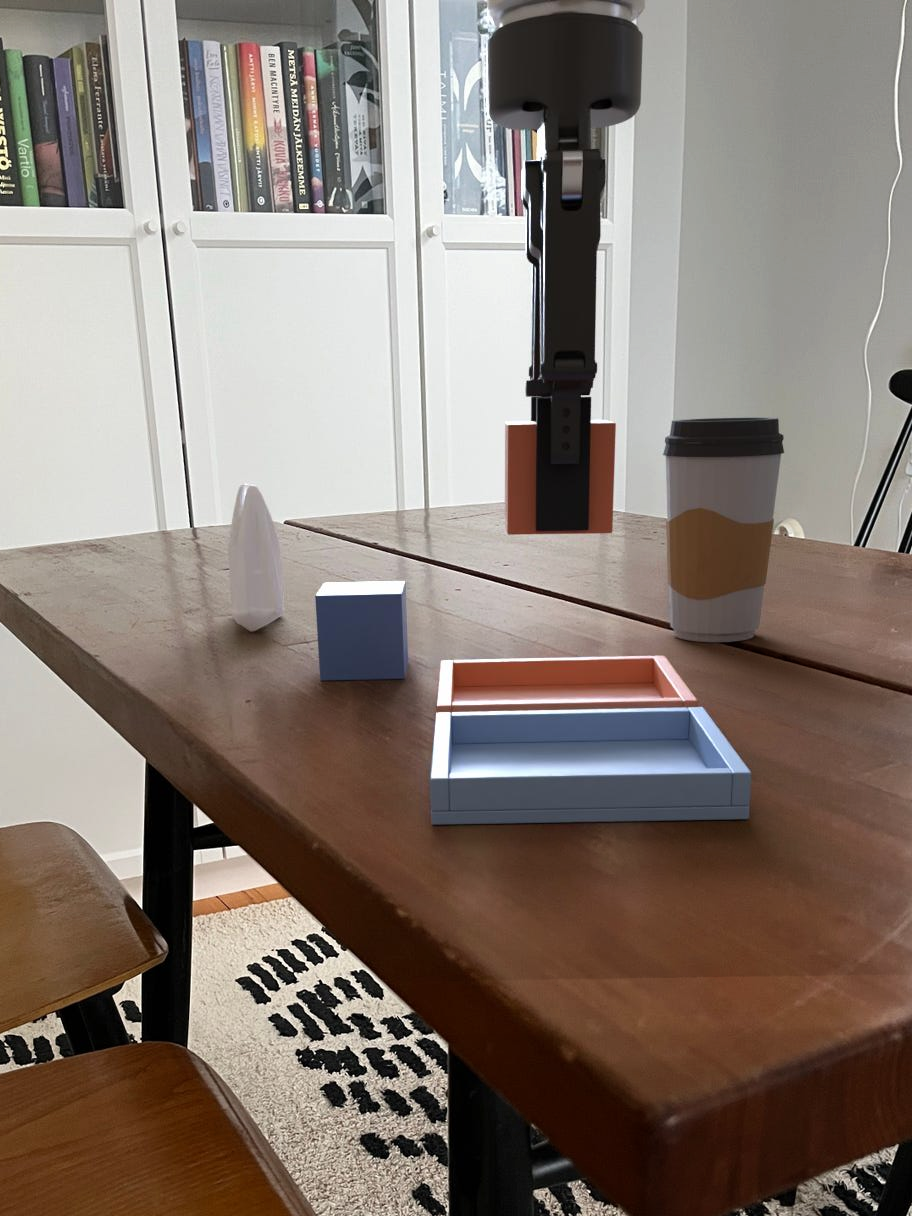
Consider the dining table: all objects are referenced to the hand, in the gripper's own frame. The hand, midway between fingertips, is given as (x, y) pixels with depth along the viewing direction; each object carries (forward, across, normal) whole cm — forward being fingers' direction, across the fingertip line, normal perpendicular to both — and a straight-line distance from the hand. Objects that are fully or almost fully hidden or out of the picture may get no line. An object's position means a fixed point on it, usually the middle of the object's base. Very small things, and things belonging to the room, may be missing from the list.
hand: (558, 522), depth 69 cm
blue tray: (+11, +14, 0) cm, 17 cm away
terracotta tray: (+11, +1, 0) cm, 11 cm away
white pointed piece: (+11, -31, -22) cm, 40 cm away
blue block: (+11, -12, -12) cm, 20 cm away
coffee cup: (+11, -22, +13) cm, 28 cm away
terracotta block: (0, 0, 0) cm, 0 cm away
